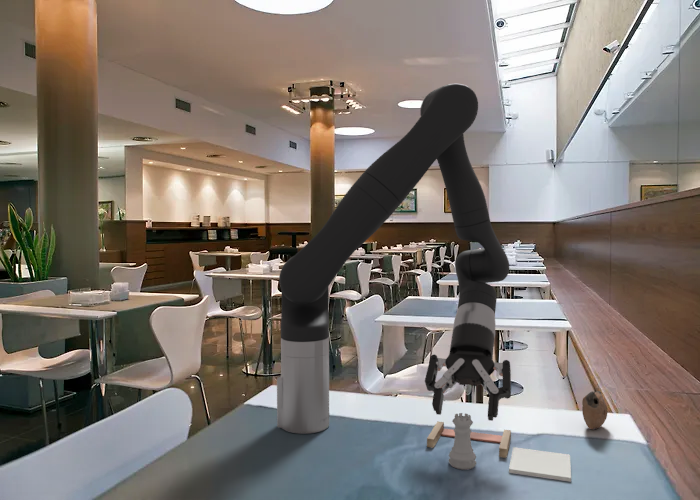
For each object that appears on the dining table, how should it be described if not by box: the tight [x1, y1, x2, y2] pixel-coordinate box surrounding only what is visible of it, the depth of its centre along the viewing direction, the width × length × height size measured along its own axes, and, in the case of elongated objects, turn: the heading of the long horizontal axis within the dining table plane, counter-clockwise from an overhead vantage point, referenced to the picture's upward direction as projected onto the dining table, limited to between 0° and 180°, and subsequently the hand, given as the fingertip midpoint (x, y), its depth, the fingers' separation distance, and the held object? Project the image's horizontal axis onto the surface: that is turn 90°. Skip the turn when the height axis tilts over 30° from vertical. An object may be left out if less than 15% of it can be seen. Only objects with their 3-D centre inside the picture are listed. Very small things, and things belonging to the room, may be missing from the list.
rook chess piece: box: [448, 412, 477, 471], centre depth 88 cm, size 4×4×8 cm
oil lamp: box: [581, 390, 608, 430], centre depth 103 cm, size 9×4×8 cm, turn 147°
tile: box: [508, 446, 572, 483], centre depth 88 cm, size 9×9×1 cm
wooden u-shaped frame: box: [426, 421, 512, 459], centre depth 97 cm, size 13×9×2 cm
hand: (463, 415), depth 90 cm, fingers open, 8 cm apart
